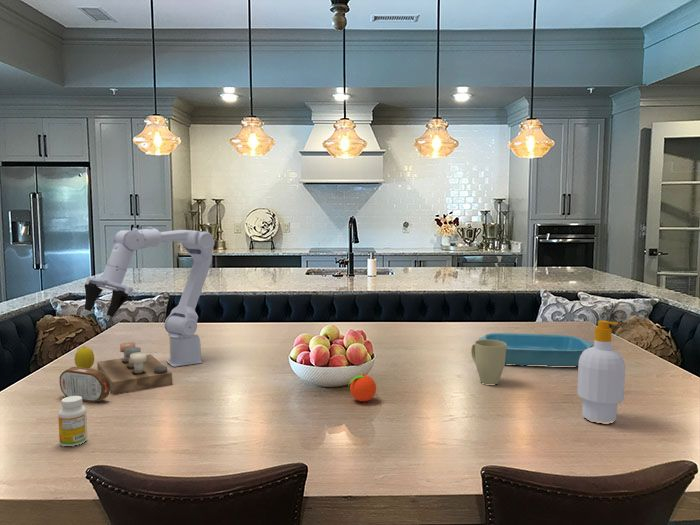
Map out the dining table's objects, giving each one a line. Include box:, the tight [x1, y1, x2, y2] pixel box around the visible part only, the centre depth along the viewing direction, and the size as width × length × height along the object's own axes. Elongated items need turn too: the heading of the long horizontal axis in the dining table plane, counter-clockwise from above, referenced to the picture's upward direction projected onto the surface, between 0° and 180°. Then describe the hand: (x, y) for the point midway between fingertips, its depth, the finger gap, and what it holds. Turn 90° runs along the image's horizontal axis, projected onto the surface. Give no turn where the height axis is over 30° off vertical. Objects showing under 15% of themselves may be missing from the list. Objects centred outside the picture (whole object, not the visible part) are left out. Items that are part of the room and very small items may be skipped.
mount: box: [96, 353, 173, 395], centre depth 163 cm, size 16×24×5 cm, turn 34°
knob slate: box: [125, 346, 142, 367], centre depth 163 cm, size 4×4×5 cm
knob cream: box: [130, 351, 147, 373], centre depth 157 cm, size 4×4×5 cm
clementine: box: [347, 374, 377, 403], centre depth 145 cm, size 8×7×7 cm
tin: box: [59, 366, 111, 403], centre depth 145 cm, size 15×3×8 cm, turn 71°
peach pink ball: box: [119, 342, 136, 362], centre depth 169 cm, size 4×4×5 cm
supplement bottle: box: [57, 396, 88, 447], centre depth 118 cm, size 5×5×10 cm
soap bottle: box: [576, 319, 626, 422], centre depth 132 cm, size 10×10×24 cm
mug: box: [470, 339, 507, 385], centre depth 161 cm, size 11×10×12 cm
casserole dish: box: [478, 332, 594, 366], centre depth 185 cm, size 37×22×7 cm, turn 81°
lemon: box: [74, 345, 95, 369], centre depth 170 cm, size 6×6×8 cm
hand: (98, 313), depth 156 cm, fingers open, 7 cm apart
